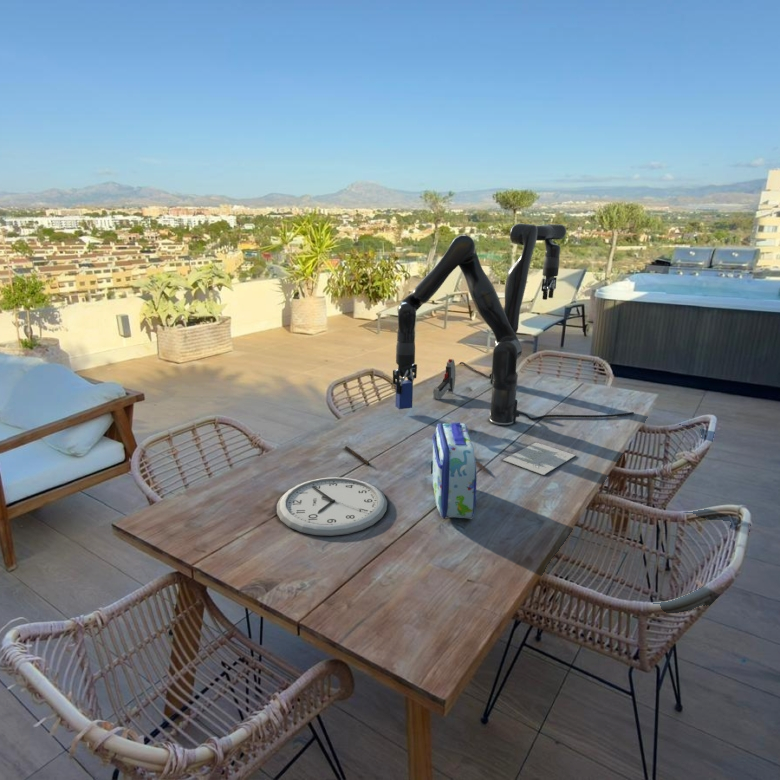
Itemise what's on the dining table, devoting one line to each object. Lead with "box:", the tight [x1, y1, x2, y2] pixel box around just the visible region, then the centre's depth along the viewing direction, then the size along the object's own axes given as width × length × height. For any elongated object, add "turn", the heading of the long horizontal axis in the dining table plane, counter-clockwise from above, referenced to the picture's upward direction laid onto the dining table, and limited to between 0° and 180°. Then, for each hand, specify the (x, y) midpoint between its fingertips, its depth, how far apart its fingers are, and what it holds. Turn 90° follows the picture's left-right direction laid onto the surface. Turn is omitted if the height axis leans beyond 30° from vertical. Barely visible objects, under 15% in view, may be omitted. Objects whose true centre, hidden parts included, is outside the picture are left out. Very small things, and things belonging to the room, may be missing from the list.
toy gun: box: [433, 358, 456, 400], centre depth 235 cm, size 2×16×15 cm
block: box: [395, 379, 414, 410], centre depth 214 cm, size 4×6×11 cm
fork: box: [475, 459, 488, 474], centre depth 169 cm, size 3×16×2 cm, turn 15°
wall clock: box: [276, 476, 388, 537], centre depth 142 cm, size 30×2×30 cm
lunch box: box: [430, 422, 478, 520], centre depth 143 cm, size 26×11×21 cm, turn 179°
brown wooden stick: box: [344, 445, 370, 465], centre depth 173 cm, size 15×1×1 cm, turn 34°
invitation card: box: [502, 442, 577, 476], centre depth 174 cm, size 21×1×15 cm
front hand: (404, 391), depth 213 cm, fingers closed on block, 7 cm apart
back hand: (547, 298), depth 267 cm, fingers open, 8 cm apart
